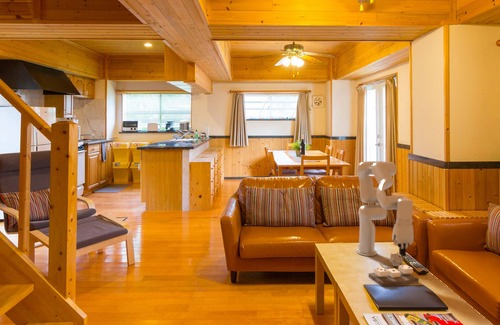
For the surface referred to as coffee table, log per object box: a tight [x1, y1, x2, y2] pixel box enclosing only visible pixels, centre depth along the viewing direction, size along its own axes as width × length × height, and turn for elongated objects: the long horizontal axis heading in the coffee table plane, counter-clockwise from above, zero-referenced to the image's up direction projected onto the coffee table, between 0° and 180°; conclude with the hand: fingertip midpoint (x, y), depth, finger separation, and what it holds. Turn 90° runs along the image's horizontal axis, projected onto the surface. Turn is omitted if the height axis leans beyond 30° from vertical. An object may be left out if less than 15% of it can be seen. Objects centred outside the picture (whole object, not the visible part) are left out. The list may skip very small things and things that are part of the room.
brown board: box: [368, 269, 420, 288], centre depth 180 cm, size 12×22×2 cm, turn 104°
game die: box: [388, 252, 405, 269], centre depth 198 cm, size 9×8×10 cm
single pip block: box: [385, 267, 401, 278], centre depth 180 cm, size 5×5×3 cm
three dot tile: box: [373, 267, 388, 277], centre depth 178 cm, size 5×5×3 cm
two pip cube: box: [397, 264, 414, 274], centre depth 182 cm, size 5×5×3 cm
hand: (402, 255), depth 181 cm, fingers closed
